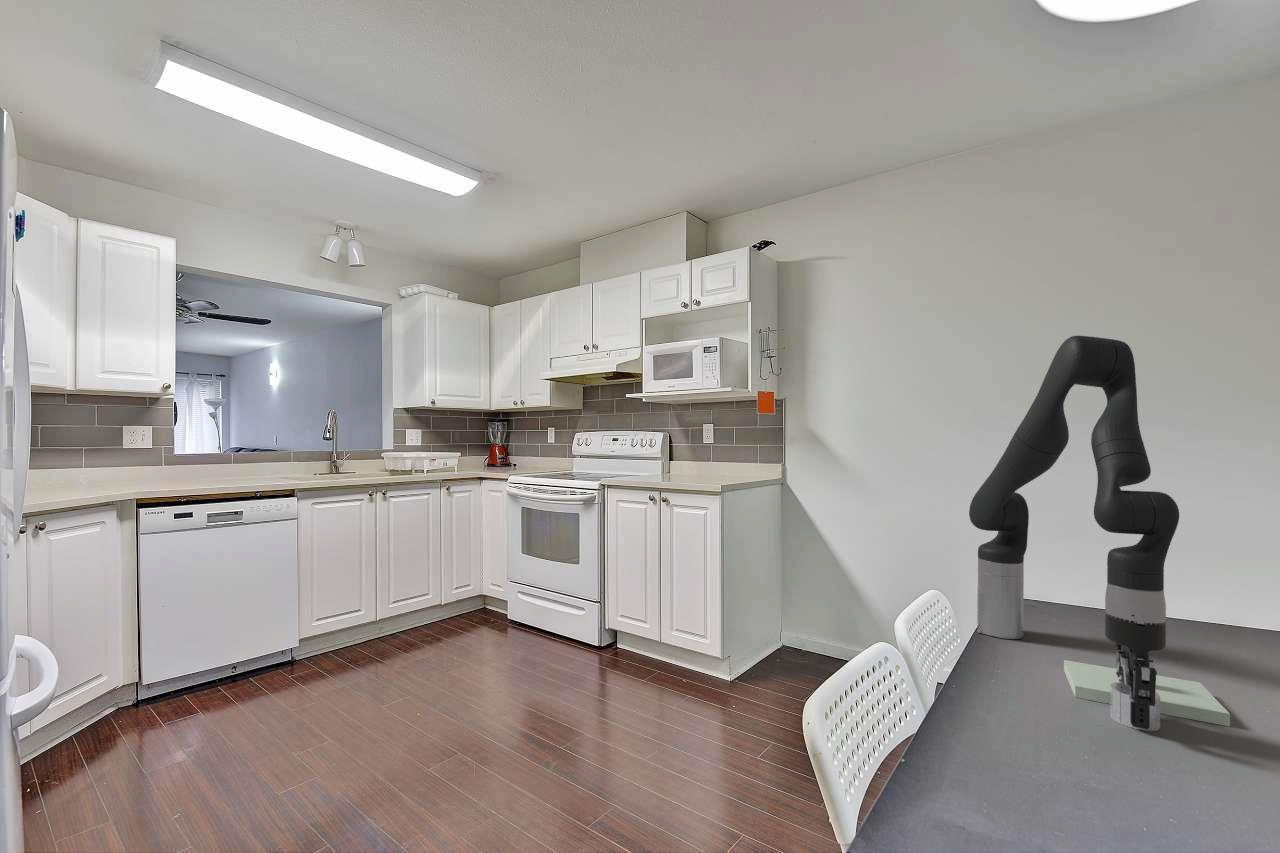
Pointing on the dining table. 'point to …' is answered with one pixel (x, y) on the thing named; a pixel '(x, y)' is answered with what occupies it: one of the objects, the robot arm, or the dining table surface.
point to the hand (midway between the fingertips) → (1134, 717)
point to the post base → (1173, 692)
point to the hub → (1122, 707)
